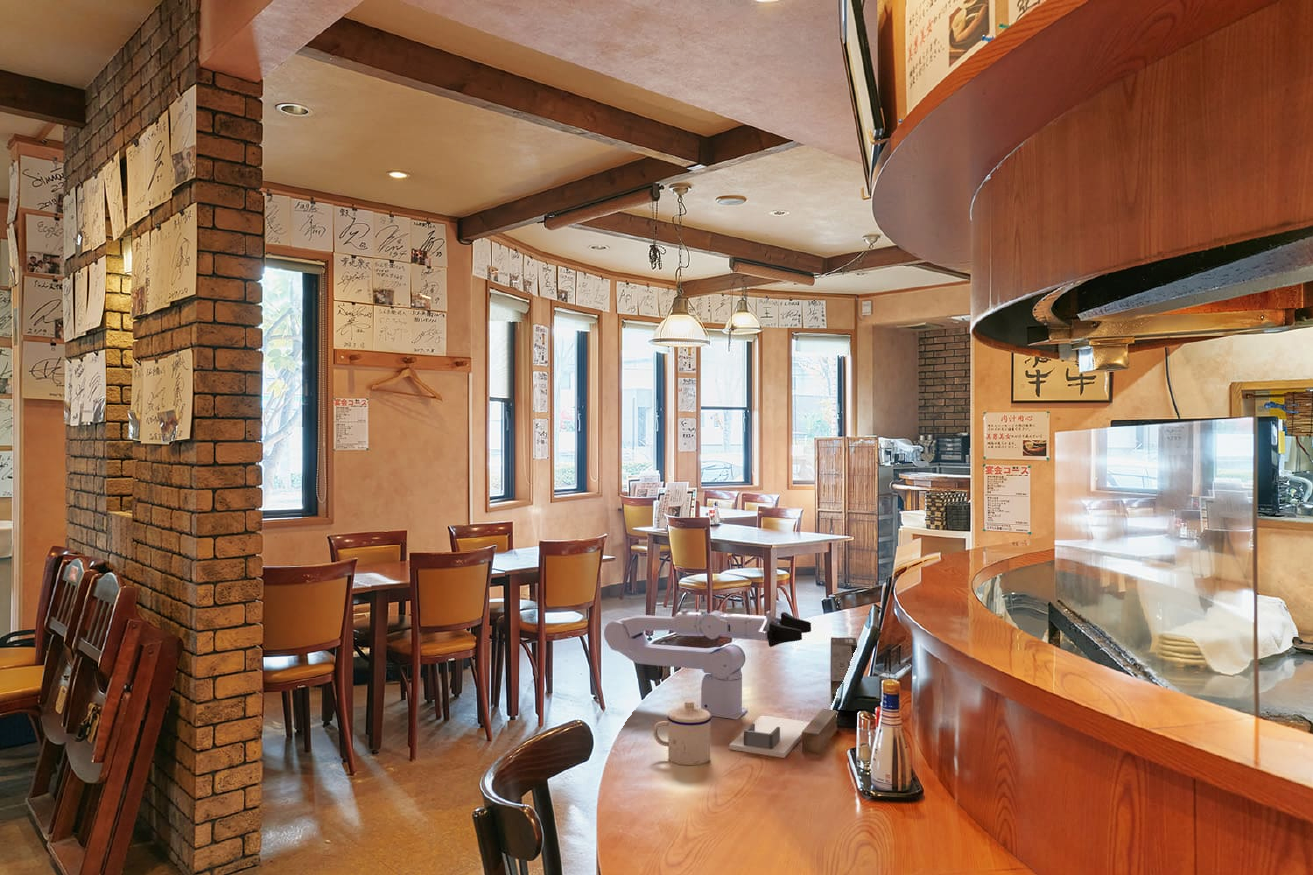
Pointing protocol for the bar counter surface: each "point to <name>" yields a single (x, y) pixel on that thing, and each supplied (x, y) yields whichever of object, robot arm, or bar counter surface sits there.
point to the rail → (819, 731)
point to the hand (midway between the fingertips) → (806, 631)
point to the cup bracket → (770, 736)
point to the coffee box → (840, 661)
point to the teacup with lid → (687, 734)
